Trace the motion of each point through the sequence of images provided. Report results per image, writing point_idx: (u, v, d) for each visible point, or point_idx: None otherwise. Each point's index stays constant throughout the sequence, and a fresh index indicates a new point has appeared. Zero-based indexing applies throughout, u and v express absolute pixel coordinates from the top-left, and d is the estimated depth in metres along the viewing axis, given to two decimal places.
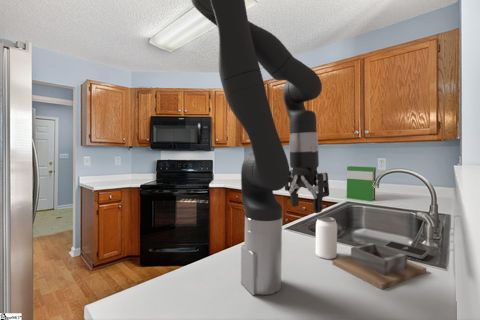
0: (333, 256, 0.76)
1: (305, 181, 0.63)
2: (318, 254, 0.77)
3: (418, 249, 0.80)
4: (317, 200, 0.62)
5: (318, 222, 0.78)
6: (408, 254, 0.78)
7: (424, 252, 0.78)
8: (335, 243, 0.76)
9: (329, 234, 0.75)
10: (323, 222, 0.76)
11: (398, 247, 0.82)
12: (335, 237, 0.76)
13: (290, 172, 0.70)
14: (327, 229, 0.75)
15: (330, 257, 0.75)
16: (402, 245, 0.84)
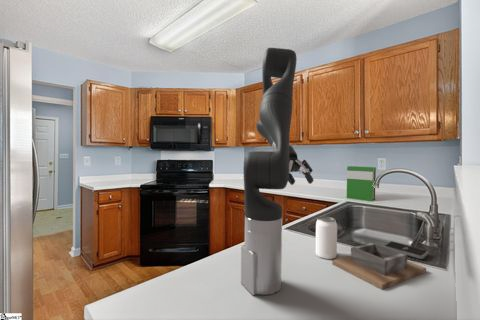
0: (333, 256, 0.76)
1: (299, 163, 0.93)
2: (318, 254, 0.77)
3: (418, 249, 0.80)
4: (309, 174, 0.92)
5: (318, 222, 0.78)
6: (408, 254, 0.78)
7: (424, 252, 0.78)
8: (335, 243, 0.76)
9: (329, 234, 0.75)
10: (323, 222, 0.76)
11: (398, 247, 0.82)
12: (335, 237, 0.76)
13: None
14: (327, 229, 0.75)
15: (330, 257, 0.75)
16: (402, 245, 0.84)
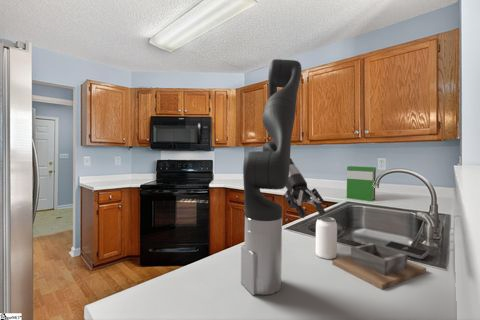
0: (333, 256, 0.76)
1: (309, 193, 0.88)
2: (318, 254, 0.77)
3: (418, 249, 0.80)
4: (320, 204, 0.87)
5: (318, 222, 0.78)
6: (408, 254, 0.78)
7: (424, 252, 0.78)
8: (335, 243, 0.76)
9: (329, 234, 0.75)
10: (323, 222, 0.76)
11: (398, 247, 0.82)
12: (335, 237, 0.76)
13: (289, 192, 0.87)
14: (327, 229, 0.75)
15: (330, 257, 0.75)
16: (402, 245, 0.84)
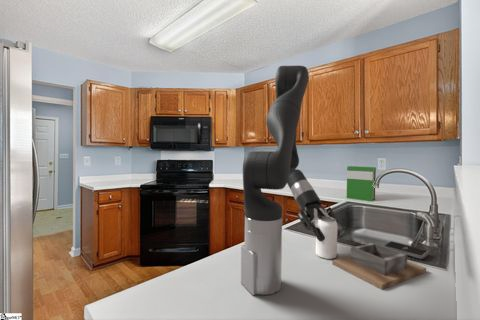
0: (333, 256, 0.76)
1: (323, 212, 0.82)
2: (318, 254, 0.77)
3: (418, 249, 0.80)
4: None
5: (318, 222, 0.78)
6: (408, 254, 0.78)
7: (424, 252, 0.78)
8: (335, 243, 0.76)
9: (330, 234, 0.75)
10: (323, 222, 0.76)
11: (398, 247, 0.82)
12: (335, 237, 0.76)
13: None
14: (328, 229, 0.75)
15: (330, 257, 0.75)
16: (402, 245, 0.84)
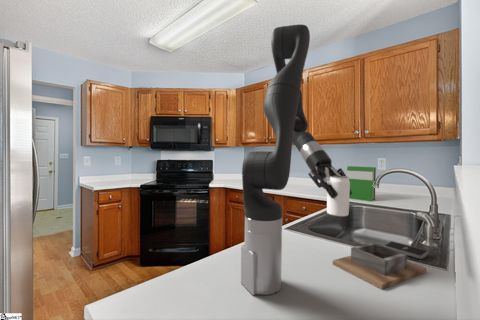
0: (345, 213, 0.74)
1: (335, 171, 0.80)
2: (330, 212, 0.75)
3: (418, 249, 0.80)
4: None
5: (330, 179, 0.76)
6: (407, 254, 0.78)
7: (424, 252, 0.78)
8: (348, 200, 0.74)
9: (342, 190, 0.73)
10: (336, 178, 0.74)
11: (398, 247, 0.82)
12: (348, 194, 0.74)
13: None
14: (340, 185, 0.73)
15: (342, 214, 0.73)
16: (402, 245, 0.84)
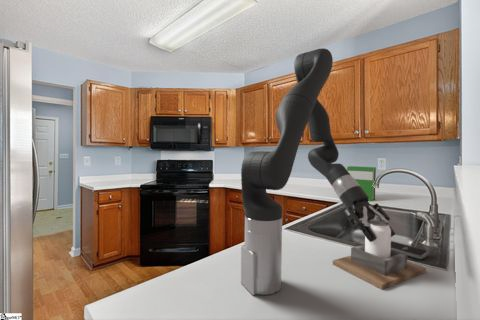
0: None
1: (373, 209, 0.74)
2: None
3: (418, 249, 0.80)
4: None
5: (369, 226, 0.69)
6: (407, 254, 0.78)
7: (424, 252, 0.78)
8: (389, 250, 0.68)
9: (384, 240, 0.67)
10: (376, 226, 0.68)
11: (398, 247, 0.82)
12: (389, 243, 0.68)
13: None
14: (381, 234, 0.67)
15: None
16: (402, 245, 0.84)
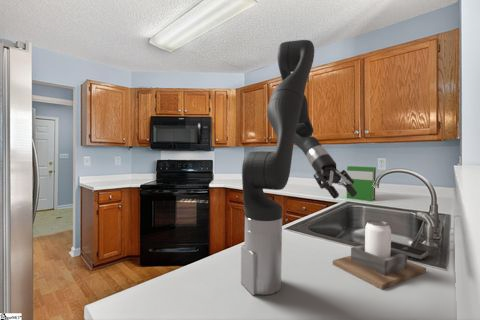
0: None
1: (339, 174, 0.85)
2: None
3: (418, 249, 0.80)
4: (351, 186, 0.84)
5: (369, 226, 0.69)
6: (407, 254, 0.78)
7: (423, 252, 0.78)
8: (389, 250, 0.68)
9: (384, 240, 0.67)
10: (376, 226, 0.68)
11: (398, 247, 0.82)
12: (389, 243, 0.68)
13: None
14: (381, 234, 0.67)
15: None
16: (402, 245, 0.84)
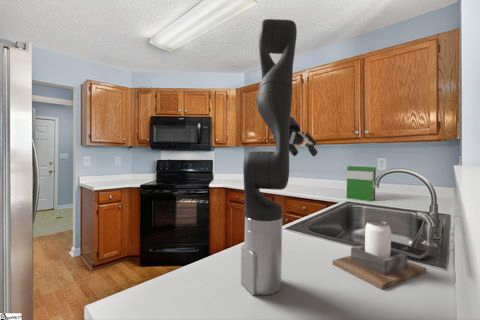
0: None
1: (302, 135, 0.87)
2: None
3: (418, 249, 0.80)
4: None
5: (369, 226, 0.69)
6: (407, 254, 0.78)
7: (423, 252, 0.78)
8: (389, 250, 0.68)
9: (384, 240, 0.67)
10: (376, 227, 0.68)
11: (397, 247, 0.82)
12: (389, 243, 0.68)
13: None
14: (381, 235, 0.67)
15: None
16: (402, 245, 0.84)
